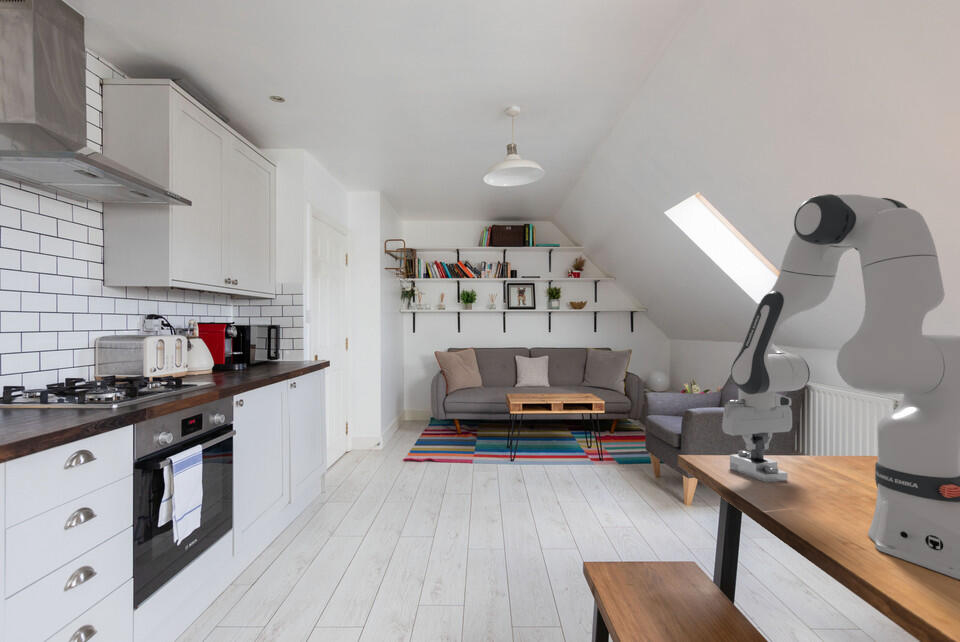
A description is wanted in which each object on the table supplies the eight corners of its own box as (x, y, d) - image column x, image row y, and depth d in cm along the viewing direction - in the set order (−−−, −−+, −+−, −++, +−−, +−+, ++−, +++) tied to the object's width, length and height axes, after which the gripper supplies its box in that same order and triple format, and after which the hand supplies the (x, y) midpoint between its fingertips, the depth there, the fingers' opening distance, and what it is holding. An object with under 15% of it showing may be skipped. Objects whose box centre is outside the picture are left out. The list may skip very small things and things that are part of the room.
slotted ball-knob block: (787, 480, 121) (787, 461, 121) (765, 482, 119) (765, 463, 119) (750, 467, 133) (750, 449, 133) (730, 469, 131) (729, 451, 131)
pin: (770, 470, 125) (770, 432, 125) (757, 471, 124) (756, 433, 124) (757, 465, 129) (756, 429, 129) (744, 466, 128) (743, 430, 128)
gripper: (734, 402, 121) (734, 455, 121) (796, 399, 126) (797, 449, 126) (716, 398, 127) (716, 448, 127) (776, 395, 132) (777, 444, 132)
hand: (757, 449), depth 126 cm, fingers closed on pin, 3 cm apart
